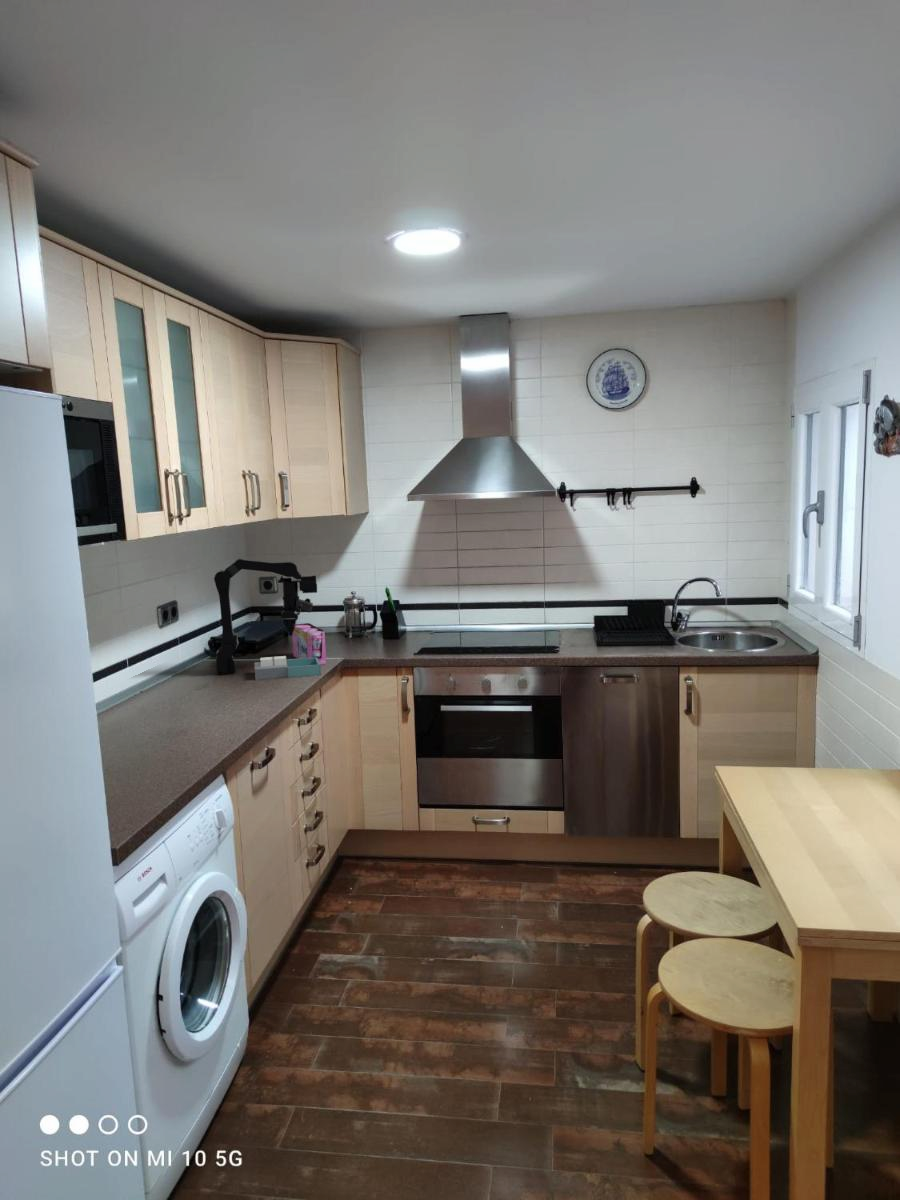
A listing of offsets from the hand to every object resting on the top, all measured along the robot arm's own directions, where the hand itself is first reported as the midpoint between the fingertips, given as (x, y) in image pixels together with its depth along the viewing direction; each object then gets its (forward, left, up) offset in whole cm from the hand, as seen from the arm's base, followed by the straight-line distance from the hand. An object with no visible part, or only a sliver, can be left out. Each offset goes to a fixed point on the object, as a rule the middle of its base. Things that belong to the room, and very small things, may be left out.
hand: (291, 633), depth 306 cm
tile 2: (-5, -9, -10) cm, 14 cm away
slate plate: (-9, -9, -14) cm, 19 cm away
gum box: (+7, +13, -14) cm, 21 cm away
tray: (+3, -9, -14) cm, 17 cm away
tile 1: (-10, -9, -10) cm, 17 cm away
